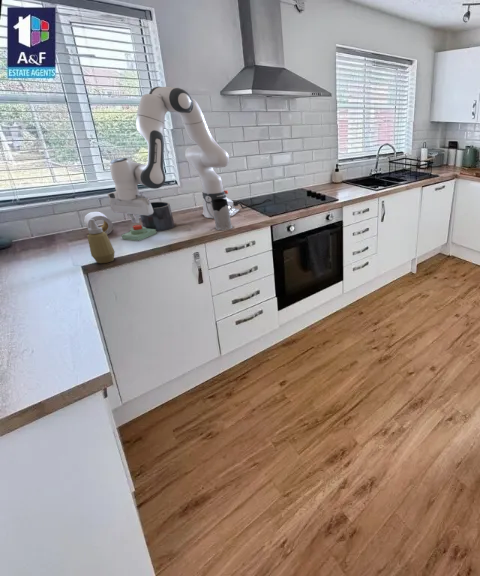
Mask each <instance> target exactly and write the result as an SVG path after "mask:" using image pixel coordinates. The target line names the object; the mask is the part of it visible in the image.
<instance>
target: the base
mask: <svg viewBox="0 0 480 576" xmlns="http://www.w3.org/2000/svg"><path fill="white" fill-rule="evenodd" d="M156 234H157V231H156V229H148V228H146V227H143V226H142V229H139V230H134V229H133V227H131V228H129V232H125V233H124V234H121V239H122V240H128V241H136V242H137V241H142V240H144V239H146V238H148V237H151V236H153V235H156Z"/></svg>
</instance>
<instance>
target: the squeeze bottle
mask: <svg viewBox="0 0 480 576" xmlns="http://www.w3.org/2000/svg"><path fill="white" fill-rule="evenodd" d="M90 224H91V228H89V229H88V228H87V231H88V233H87V236H86V237H87V241H88V246H89V251H90V255H91V257H92V258H93V259H94V261H95V262H96V263H97V264H107V263H111V262H113V261H114V260H115V252H116V251H115V249H114V247H113V244H112V243H111V240H110V238H109V236H108V235H107V234H106V233H105V232H103V230H102V227H101V226H98V224H97V221H94V219H91V220H90Z"/></svg>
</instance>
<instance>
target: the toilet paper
mask: <svg viewBox="0 0 480 576" xmlns="http://www.w3.org/2000/svg"><path fill="white" fill-rule="evenodd" d="M91 219H94V221H95V222H97V221H103V224H102V225H101V226H100V227H102V230H103V232H105V233H106V234H107V236H108V235H109V234H110V233H112V232H113V229H114V225H113V221H112V220H111V219H110V218H108V217H107V215H106V214H105V213H103V212H99V211H90V212H88V213H87V214H85V216H84V218H83V224H84V226H85V227H86V228H87V230H88V229H89V228H91V224H90V220H91Z"/></svg>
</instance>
